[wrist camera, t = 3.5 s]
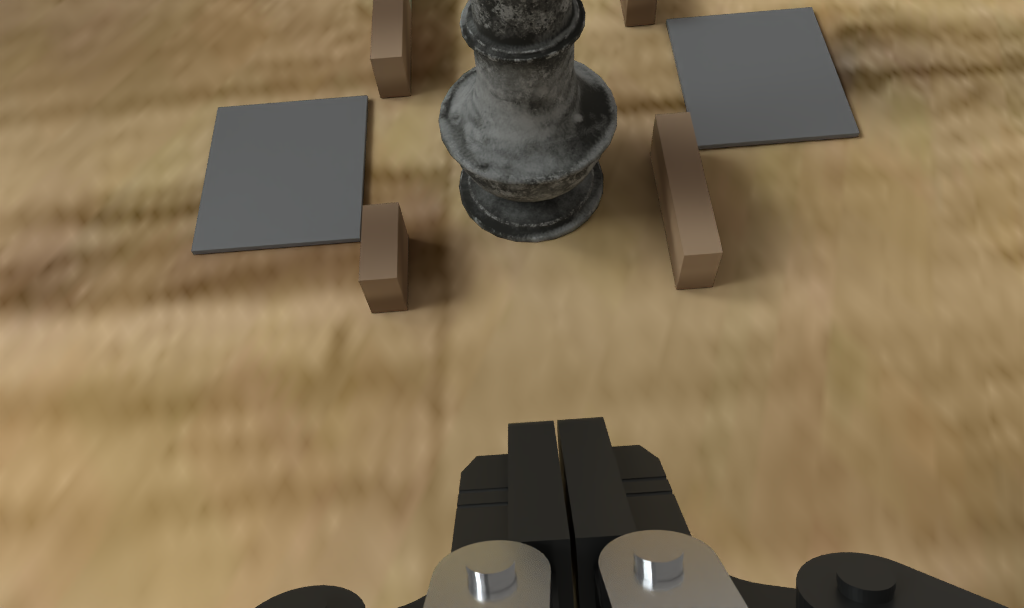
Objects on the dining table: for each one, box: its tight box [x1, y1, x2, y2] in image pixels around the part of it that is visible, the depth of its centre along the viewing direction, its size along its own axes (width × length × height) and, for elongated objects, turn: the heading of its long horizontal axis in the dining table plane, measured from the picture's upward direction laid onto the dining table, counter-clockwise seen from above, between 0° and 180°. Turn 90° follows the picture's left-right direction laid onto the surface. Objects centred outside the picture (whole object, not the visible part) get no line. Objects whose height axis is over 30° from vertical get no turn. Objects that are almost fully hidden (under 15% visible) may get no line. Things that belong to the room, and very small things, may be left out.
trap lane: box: [359, 0, 723, 313], centre depth 31 cm, size 22×11×3 cm, turn 3°
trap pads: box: [191, 7, 860, 254], centre depth 30 cm, size 10×24×1 cm, turn 93°
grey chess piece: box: [439, 0, 617, 242], centre depth 24 cm, size 6×6×12 cm
